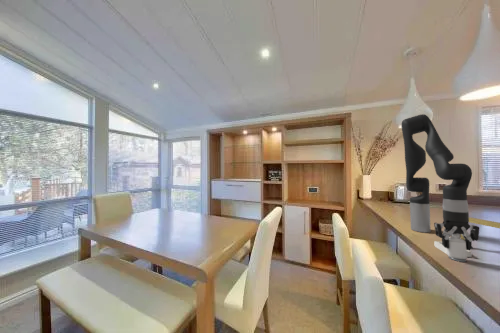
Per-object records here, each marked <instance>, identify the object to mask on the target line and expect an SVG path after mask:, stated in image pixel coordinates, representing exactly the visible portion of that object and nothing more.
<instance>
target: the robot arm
mask: <svg viewBox="0 0 500 333" xmlns="http://www.w3.org/2000/svg"><path fill="white" fill-rule="evenodd" d="M423 132H425V133H426V136H427V137H426V142H425V146H424V147H425V149H424V148H423V147H422V146H421V145H419V143H417V142H416V141H415V140H414V138H413V136H414V135H416V134H420V133H423ZM401 133H402V139H403V145H404V146H403V147H404V161H405V163H404V164H405V168H406V169H405V170H406V171H405V172H406V177H405V184H406V186H405V187H406V189H407V191H408V192H412V193H421V194H420V195H417V196H412V197H410V198H409V213H410V214H409V216H410V230H412V231H415V232H420V233H432V230H431V208H430V207H431V206H430V205H431V204H430V202H431V201H430V180H429V178H428V177H419V176H418V177H414V176H415V175H416V173H418V172H419V171H420V170H421V169H422V168H424V167H423V166H425V165H426V163H427V162H426V161H427V155H428V157H429V158H430V159H431V160H432V162H433V165H434V170H435V173H436V176H438V177H439V178H440V179H442V180H446V181H452V182H451V183H450V184H448V185H447V184H446V185H444V186H443V187H442V219H443V221H442V222H434V223H433V225H434V226H433V227H434V231H435V236H436V237H438V238H441V242H442V245H443V246H444V247H445V248H449V240H448V238H449V237H452V234H457V233H458V234H460V236H461V235H462V236H463V237H464V239H465V240H464V241H465V242H466V250H469V251H471V250H472V249H471V248H472V247H473V245H472V244H473V243H472V242H473V241H475V242H476V241H479V237H480V235H479V234H480V227H479V226H477V225H475V224H470V222H469V217H470V215H469V214H470V213H469V211H470V210H469V204H468V203H469V202H468V193H467V192H468V188H469V185H470V182H471V180H472V177H473V171H472V168H471V167H470V166H469V165H468V164H465V163H450V162H451V161H453V159H454V154H453V152H452V151H451V150H450V149H449V148H448V147H447V146H446V144H445V143H444V141H443V140H442V138H441V136H440V135H439V132H438V131H437V128H436V127H435V125H434V124H433V122H432V121H431V119H430V117H429V116H428V115H426V114H424V113H423V114H418V115H415V116H410V117H407V118H405V119H403V120H402V121H401ZM443 227H444V229H443ZM442 229H443V230H442ZM468 230H470V232H468Z"/></svg>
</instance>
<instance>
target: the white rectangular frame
mask: <svg viewBox="0 0 500 333" xmlns="http://www.w3.org/2000/svg"><path fill="white" fill-rule="evenodd" d="M433 242H434V243H433V244H434V247H435V248H436V249H438V250H440V251H441V252H442V253H444V254H446V255H447V248H445V247H444V246H443V245H442V241H436V240H434V241H433ZM467 258H472V251H471V250H467Z"/></svg>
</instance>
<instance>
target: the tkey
mask: <svg viewBox="0 0 500 333" xmlns="http://www.w3.org/2000/svg"><path fill="white" fill-rule="evenodd" d="M468 223H469V224H470V223H471V224H474V225H475V224H476V225H480V226H485V227H491V228H496V229H500V222H498V221H494V220H487V219H482V218H477V217H476V218H475V217H471V216H469V222H468ZM460 239H463V240H465V239H464V237H463V236H462V235H461V234H460Z"/></svg>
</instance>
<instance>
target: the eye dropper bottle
mask: <svg viewBox="0 0 500 333" xmlns="http://www.w3.org/2000/svg"><path fill="white" fill-rule="evenodd" d="M448 240H449V248H447V254H446V255H447V256H448V258H449V257H451V258H456V259H466V260H468V257H467V250H466V242H465V241H464V240H463V239H461V234H458V233H457V234H452V235H451V236H450V237H449V238H448Z"/></svg>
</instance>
